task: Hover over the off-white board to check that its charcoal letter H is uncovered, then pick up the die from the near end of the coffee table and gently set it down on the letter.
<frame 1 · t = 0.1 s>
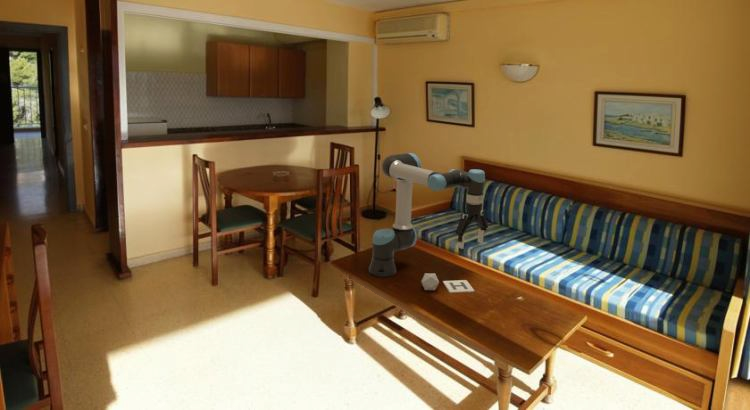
hand: (470, 245, 235), 28 cm above the table, fingers open, 13 cm apart
die: (429, 289, 251), on the table
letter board: (458, 286, 255), on the table
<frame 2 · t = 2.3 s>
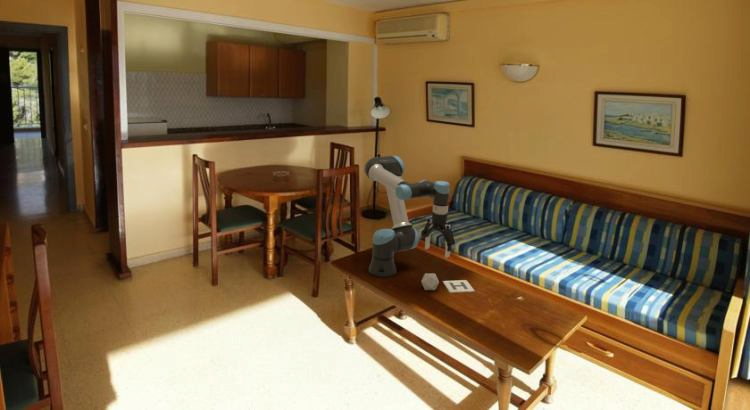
hand: (437, 252, 247), 19 cm above the table, fingers open, 13 cm apart
nothing on the table moved.
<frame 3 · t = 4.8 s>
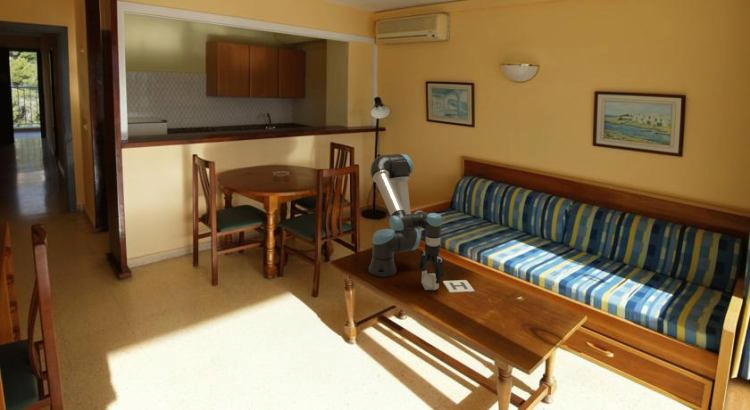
hand: (429, 285, 251), 2 cm above the table, fingers closed on die, 8 cm apart
die: (429, 289, 251), on the table, touching gripper
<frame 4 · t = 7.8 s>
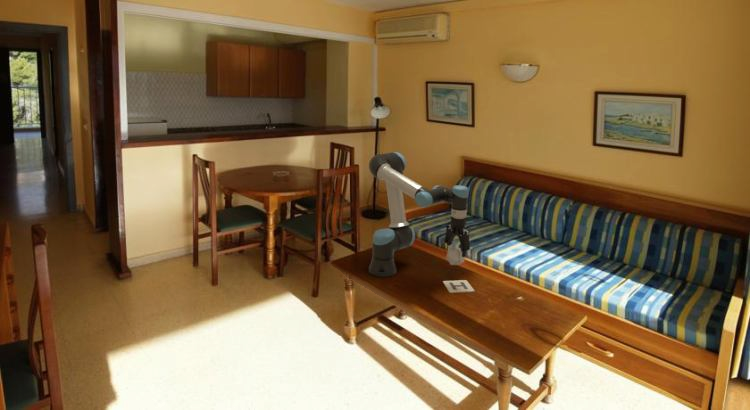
hand: (455, 259, 249), 16 cm above the table, fingers closed on die, 8 cm apart
die: (455, 264, 250), point 13 cm above the table, touching gripper
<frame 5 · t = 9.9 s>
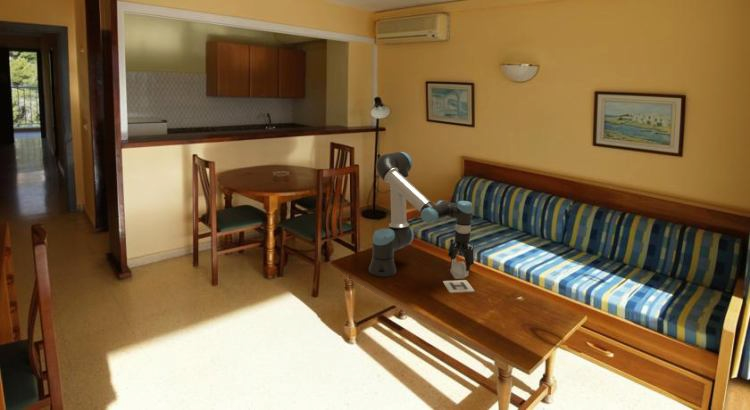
hand: (459, 273, 252), 8 cm above the table, fingers closed on die, 8 cm apart
die: (459, 277, 253), point 5 cm above the table, touching gripper
when the fingers open (3 cm above the table, at t = 11.4 s): die stays where it is, resting on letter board.
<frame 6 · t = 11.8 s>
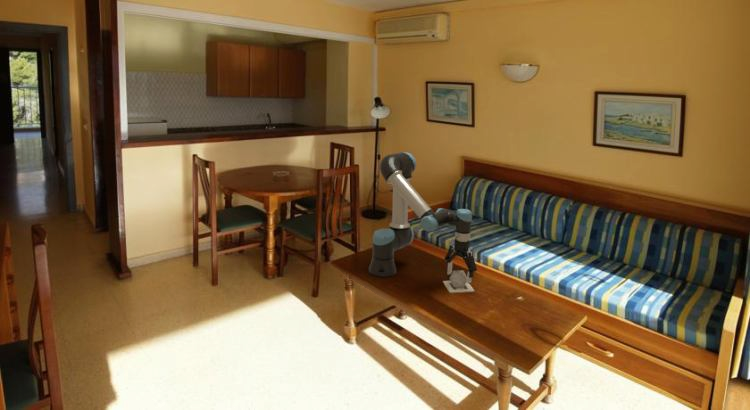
hand: (459, 278, 253), 5 cm above the table, fingers open, 13 cm apart
die: (458, 286, 254), resting on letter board
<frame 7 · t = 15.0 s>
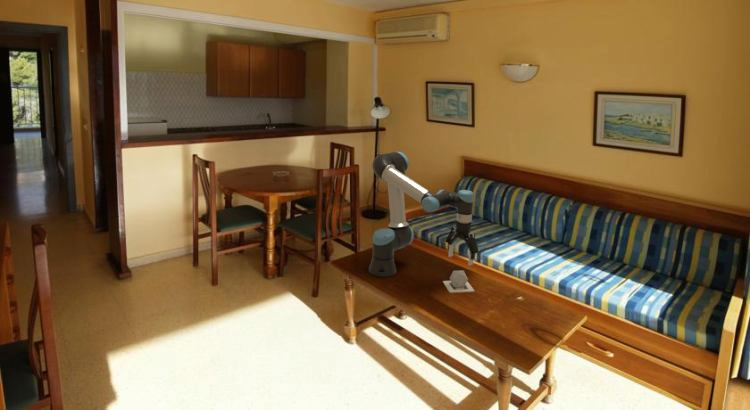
hand: (460, 260, 251), 15 cm above the table, fingers open, 13 cm apart
nothing on the table moved.
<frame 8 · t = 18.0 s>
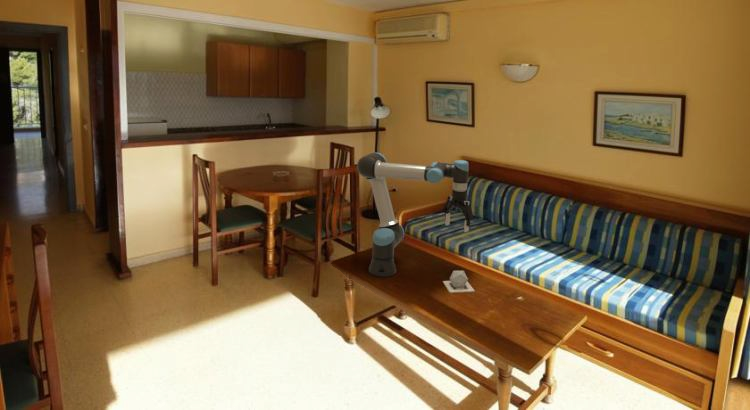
hand: (456, 228, 263), 27 cm above the table, fingers open, 13 cm apart
nothing on the table moved.
at the end: die 0.3 cm from the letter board (horizontally); die touching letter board; die resting on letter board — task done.
